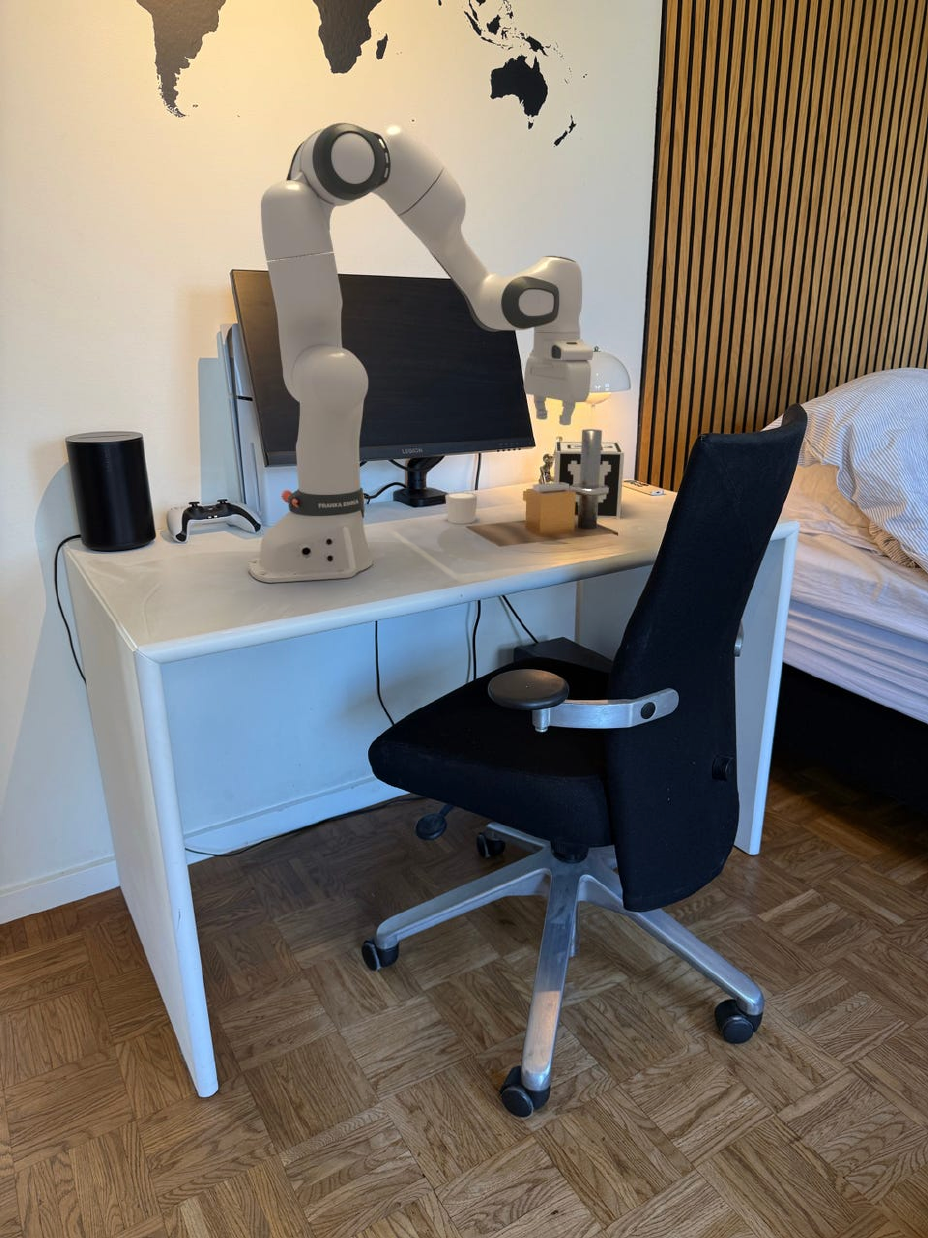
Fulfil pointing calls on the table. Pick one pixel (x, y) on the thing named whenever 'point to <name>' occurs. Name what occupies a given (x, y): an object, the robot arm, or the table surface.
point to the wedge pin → (551, 487)
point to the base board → (529, 533)
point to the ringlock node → (569, 496)
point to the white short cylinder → (461, 507)
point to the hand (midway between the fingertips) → (552, 421)
